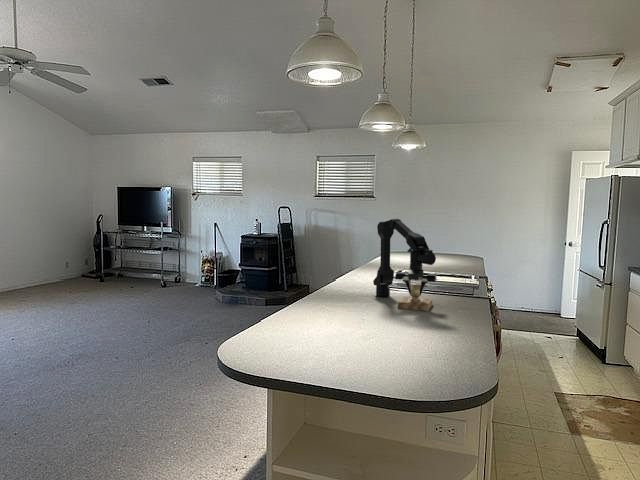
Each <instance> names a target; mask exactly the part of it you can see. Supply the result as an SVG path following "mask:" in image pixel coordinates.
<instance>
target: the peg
mask: <svg viewBox="0 0 640 480" xmlns="http://www.w3.org/2000/svg"><path fill="white" fill-rule="evenodd" d="M420 289H421V284H420V283H411V292H410V294H409V295H410V296H409V297H412V301H417V302H419V298H421V295H420Z"/></svg>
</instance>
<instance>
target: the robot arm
mask: <svg viewBox="0 0 640 480" xmlns="http://www.w3.org/2000/svg"><path fill="white" fill-rule="evenodd" d="M376 225H377V227H376V229H377V235H378V237H379V239H380V265H379V268H378V269H377V273H376V276H375V278H374V279H373V281H372V282H373V283H372V284H373V285H374V286H376V287H375V288H376V289H375V298H387V299H388V298H389V297H390V295H391V288H390V286H392V285H393V281H394V278H395V280H402V282H403V283H404V284H405V285H406V287H407V291H408V293H409V295H410V292H411V284H412V282H411V281H412V280H413V281H414V280H415V281H419V280H421V284H420V285H421V286H420V296H422V294H423V290H424V288H425V286H426V284H428V283H429V282H433V283H435V282H436V281H437V274H435V273H428V274H427V275H425V273H424V269H423V265H429V266H432V265H434V264H435V263H436V260H437V257H436V254H435V253H434V252H433V250H432V249H430V248H429V246H428V244H427V241H426V239H425V236H423V235H421V234H419V233H416V232H414V231H412V229H410V228H409V227H408V226H407V225H406V224H405V223H403V222H402V220H401V219H400V218H391V219H389V220H386V221H379V222H378V223H377V224H376ZM395 231H397V233H398V234H400V235H401V236H402V238H404V239H405V243H406V244H407V245H408V246H409V249H407V253H410V255H409V257H410V258H409V268H408V269H409V270H408V272H407V273H406V272H403V271H398V272H396V273H395V270H394V269H392V267H391V239H392V237H393V236H394V232H395Z"/></svg>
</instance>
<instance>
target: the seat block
mask: <svg viewBox="0 0 640 480" xmlns="http://www.w3.org/2000/svg"><path fill="white" fill-rule="evenodd" d="M432 305H433V298H429V297H419V302H417V301H412V296H405V295H404V296H402V297H401V298H400V300H398V301H397V309H399V310H400V309H402V310H410V311H422V312H429V310H430V309H431V307H432Z"/></svg>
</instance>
